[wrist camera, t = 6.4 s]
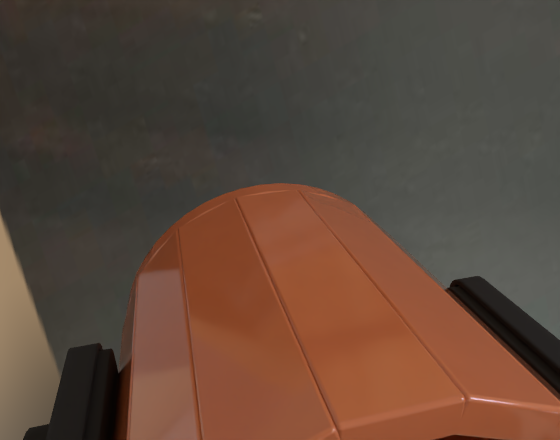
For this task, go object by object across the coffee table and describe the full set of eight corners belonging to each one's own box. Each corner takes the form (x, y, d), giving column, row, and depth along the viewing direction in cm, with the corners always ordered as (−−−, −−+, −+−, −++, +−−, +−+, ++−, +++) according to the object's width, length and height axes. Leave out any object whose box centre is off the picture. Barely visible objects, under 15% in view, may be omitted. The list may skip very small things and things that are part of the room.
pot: (151, 445, 13) (150, 848, 7) (100, 204, 10) (19, 500, 4) (393, 392, 14) (581, 690, 8) (403, 165, 12) (697, 344, 5)
